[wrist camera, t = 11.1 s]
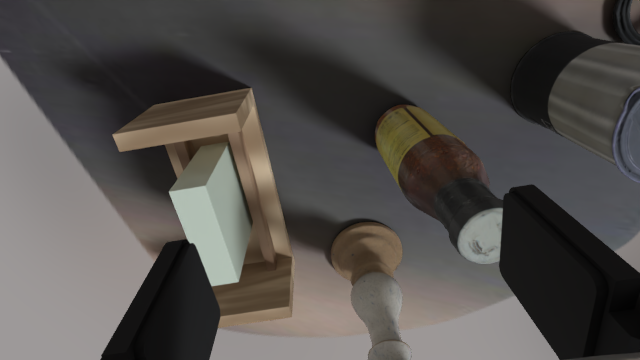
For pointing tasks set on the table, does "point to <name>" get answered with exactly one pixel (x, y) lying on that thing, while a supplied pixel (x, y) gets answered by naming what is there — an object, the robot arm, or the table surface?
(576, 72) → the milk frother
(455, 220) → the sauce bottle
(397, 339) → the candle holder
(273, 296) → the track
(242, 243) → the rectangular block
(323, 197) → the table surface
